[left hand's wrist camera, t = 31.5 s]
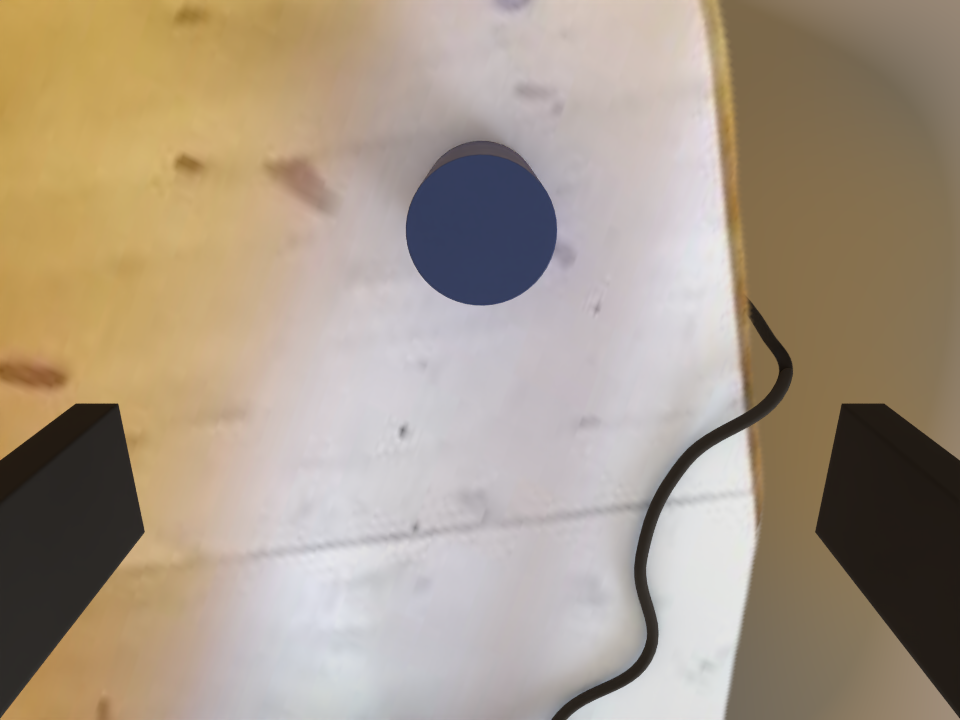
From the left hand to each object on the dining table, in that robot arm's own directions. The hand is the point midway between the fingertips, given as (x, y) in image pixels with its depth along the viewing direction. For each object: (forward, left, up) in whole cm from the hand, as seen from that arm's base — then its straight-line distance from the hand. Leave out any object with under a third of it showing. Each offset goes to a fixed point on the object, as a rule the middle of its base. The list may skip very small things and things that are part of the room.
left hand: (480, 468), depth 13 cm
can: (0, 0, -32) cm, 32 cm away
